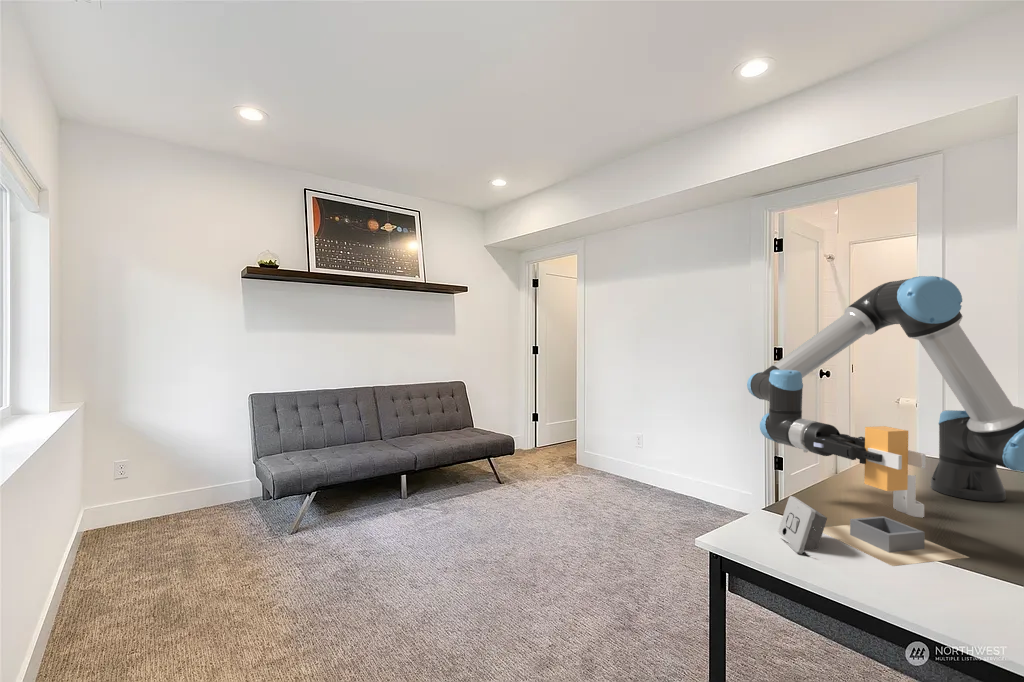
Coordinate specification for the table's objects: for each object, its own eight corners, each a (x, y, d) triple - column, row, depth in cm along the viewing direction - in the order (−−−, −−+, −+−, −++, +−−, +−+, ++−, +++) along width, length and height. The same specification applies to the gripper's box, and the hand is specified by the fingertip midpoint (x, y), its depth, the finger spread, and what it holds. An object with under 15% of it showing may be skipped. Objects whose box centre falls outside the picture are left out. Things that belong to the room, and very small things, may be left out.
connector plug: (884, 482, 103) (884, 426, 103) (907, 489, 98) (908, 430, 98) (864, 483, 102) (865, 426, 102) (887, 491, 97) (888, 431, 97)
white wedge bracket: (917, 512, 113) (907, 475, 117) (896, 520, 121) (886, 484, 125) (936, 513, 112) (924, 475, 116) (913, 521, 120) (903, 485, 125)
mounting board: (880, 526, 110) (880, 522, 110) (969, 562, 93) (969, 557, 93) (813, 532, 107) (813, 528, 107) (892, 571, 89) (892, 565, 89)
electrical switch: (776, 536, 105) (781, 494, 105) (801, 539, 105) (806, 497, 104) (797, 555, 96) (803, 509, 96) (825, 559, 95) (830, 512, 95)
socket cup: (883, 531, 105) (883, 516, 105) (924, 548, 97) (924, 531, 96) (850, 534, 103) (850, 519, 103) (888, 552, 95) (889, 535, 95)
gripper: (846, 451, 119) (948, 478, 96) (782, 454, 116) (873, 483, 93) (846, 420, 119) (949, 441, 96) (783, 423, 116) (874, 444, 93)
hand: (911, 461), depth 95 cm, fingers closed on connector plug, 5 cm apart
